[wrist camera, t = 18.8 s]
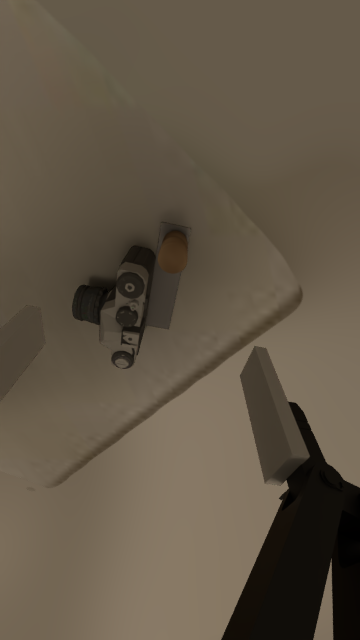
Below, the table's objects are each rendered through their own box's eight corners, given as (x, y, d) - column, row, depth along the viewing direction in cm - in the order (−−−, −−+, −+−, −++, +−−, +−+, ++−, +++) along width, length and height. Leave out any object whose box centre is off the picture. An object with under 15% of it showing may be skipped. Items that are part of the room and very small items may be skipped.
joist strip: (145, 324, 41) (145, 325, 41) (161, 221, 31) (161, 221, 31) (168, 329, 41) (168, 329, 41) (191, 228, 32) (191, 228, 32)
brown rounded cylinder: (162, 248, 33) (155, 270, 27) (166, 224, 31) (160, 241, 25) (184, 253, 34) (183, 276, 27) (190, 230, 32) (190, 248, 25)
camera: (87, 234, 33) (52, 260, 25) (159, 250, 34) (150, 280, 25) (88, 325, 41) (62, 366, 33) (145, 336, 42) (134, 379, 34)
